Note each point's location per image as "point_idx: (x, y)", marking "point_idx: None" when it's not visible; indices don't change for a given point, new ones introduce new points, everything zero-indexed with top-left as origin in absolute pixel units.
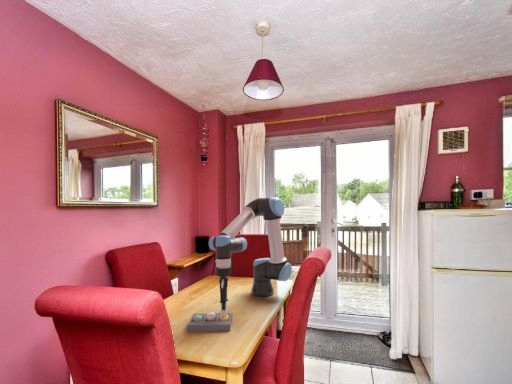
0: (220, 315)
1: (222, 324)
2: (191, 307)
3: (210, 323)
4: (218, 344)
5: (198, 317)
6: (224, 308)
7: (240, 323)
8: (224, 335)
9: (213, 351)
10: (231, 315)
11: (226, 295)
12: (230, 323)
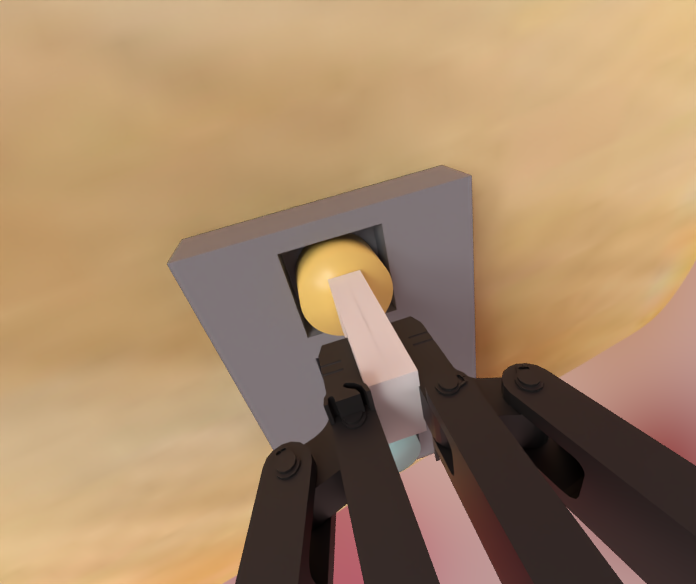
0: (342, 332)
1: (470, 245)
2: (111, 566)
3: (450, 339)
4: (618, 177)
5: (404, 445)
6: (423, 330)
7: (251, 115)
8: (501, 186)
9: (689, 174)
10: (245, 244)
11: (378, 499)
12: (409, 188)
